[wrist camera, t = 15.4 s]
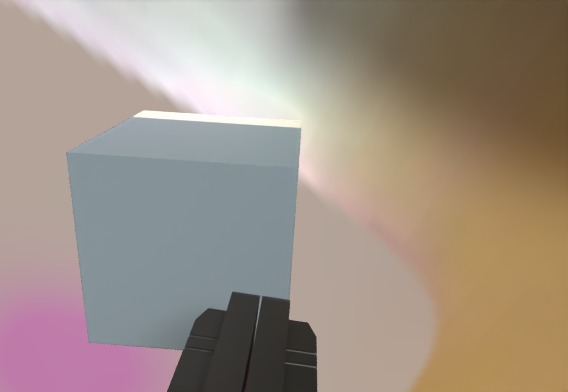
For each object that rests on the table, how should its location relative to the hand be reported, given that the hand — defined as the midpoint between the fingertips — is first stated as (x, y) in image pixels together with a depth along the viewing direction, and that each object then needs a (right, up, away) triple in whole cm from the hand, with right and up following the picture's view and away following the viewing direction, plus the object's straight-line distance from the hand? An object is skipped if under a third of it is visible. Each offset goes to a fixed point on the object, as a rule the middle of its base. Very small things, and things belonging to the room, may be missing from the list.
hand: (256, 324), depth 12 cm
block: (-3, +1, +3) cm, 4 cm away
